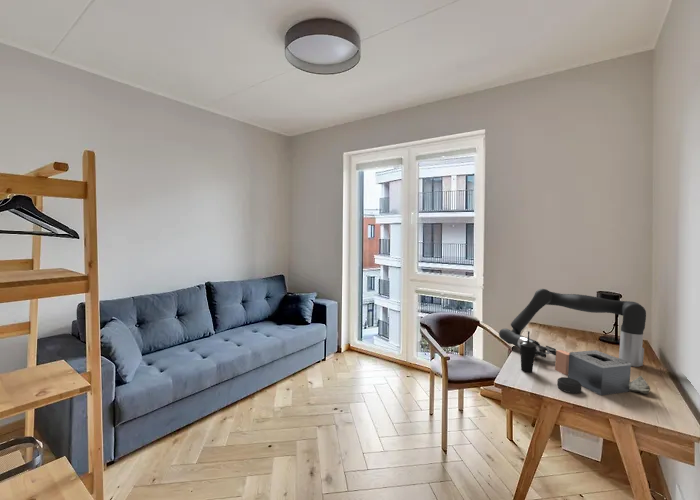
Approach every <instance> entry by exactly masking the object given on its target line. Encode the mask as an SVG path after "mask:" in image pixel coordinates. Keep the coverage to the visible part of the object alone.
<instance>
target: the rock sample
mask: <svg viewBox="0 0 700 500" xmlns="http://www.w3.org/2000/svg"><path fill="white" fill-rule="evenodd" d="M629 392H633V393H635V392H636V393H640V394H643V395H649V394H650V392H651V387H650V386H649V384H648V383H647V381H646V380H645V378H644V377H643V376H642V375H639V376H638V377H637V378H635V379H632V380H631V381H630V385H629Z"/></svg>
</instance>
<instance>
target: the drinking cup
mask: <svg viewBox="0 0 700 500" xmlns="http://www.w3.org/2000/svg"><path fill="white" fill-rule="evenodd" d="M527 338H528V341H523V342H520V348H519V349H520V351H519V352H520V370H521V371H522V372H523V373H526V374H527V373H528V374H531V373H533V369H534V363H535V358H536V357H535V351H536V347H537V345H536V344H534V343H532V342H530V341H529V338H530V331H527Z"/></svg>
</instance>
